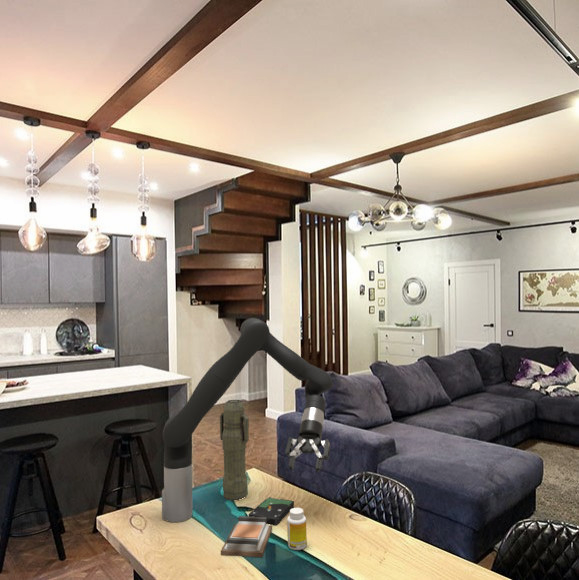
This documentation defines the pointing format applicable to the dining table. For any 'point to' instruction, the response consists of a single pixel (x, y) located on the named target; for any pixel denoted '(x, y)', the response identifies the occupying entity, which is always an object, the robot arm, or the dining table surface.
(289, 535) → the supplement bottle
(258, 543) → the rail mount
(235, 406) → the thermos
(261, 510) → the disk drive
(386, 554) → the dining table surface
